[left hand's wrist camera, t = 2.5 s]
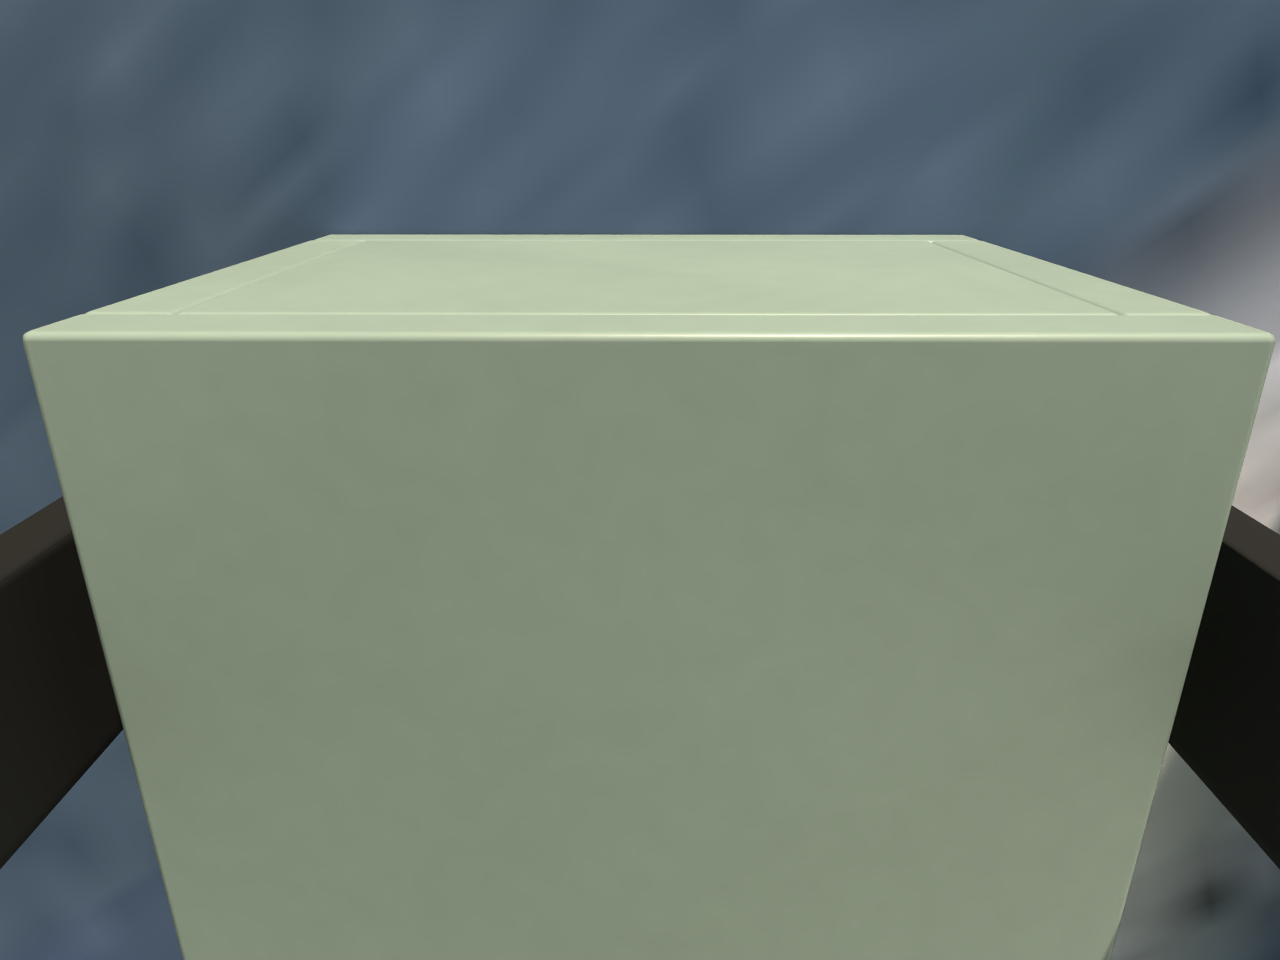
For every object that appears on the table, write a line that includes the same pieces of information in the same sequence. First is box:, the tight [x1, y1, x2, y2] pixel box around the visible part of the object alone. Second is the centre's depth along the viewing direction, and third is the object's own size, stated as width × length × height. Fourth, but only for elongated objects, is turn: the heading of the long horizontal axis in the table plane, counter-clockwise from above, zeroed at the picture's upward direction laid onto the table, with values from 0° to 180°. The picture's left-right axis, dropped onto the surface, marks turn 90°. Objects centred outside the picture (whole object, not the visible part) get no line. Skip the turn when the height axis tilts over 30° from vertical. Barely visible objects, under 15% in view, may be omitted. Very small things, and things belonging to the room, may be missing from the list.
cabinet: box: [23, 235, 1275, 960], centre depth 15 cm, size 20×11×8 cm, turn 0°
